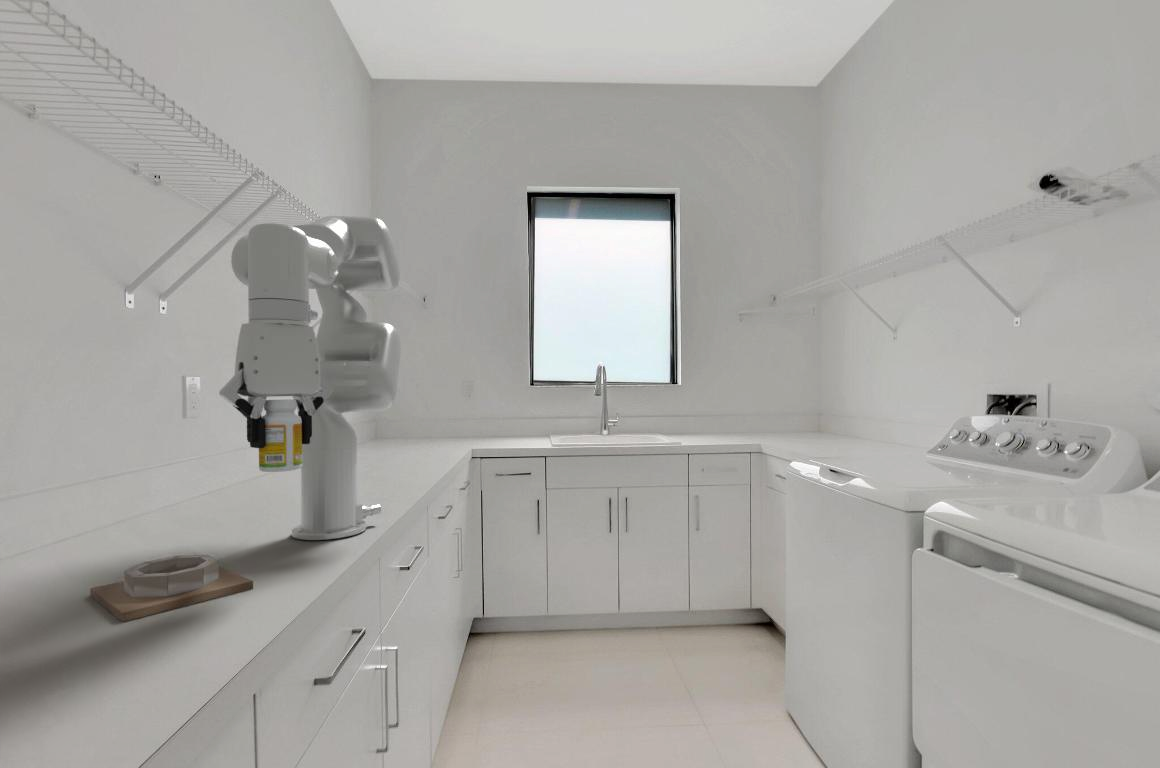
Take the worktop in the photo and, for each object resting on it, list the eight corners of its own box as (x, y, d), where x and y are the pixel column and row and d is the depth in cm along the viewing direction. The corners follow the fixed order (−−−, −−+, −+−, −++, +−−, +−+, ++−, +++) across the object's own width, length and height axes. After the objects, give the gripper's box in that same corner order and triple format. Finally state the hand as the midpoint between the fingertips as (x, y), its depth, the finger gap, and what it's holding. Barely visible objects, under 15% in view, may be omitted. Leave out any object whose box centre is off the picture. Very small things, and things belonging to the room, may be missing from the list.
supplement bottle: (291, 465, 85) (291, 399, 85) (309, 468, 82) (308, 399, 82) (252, 470, 81) (251, 400, 81) (269, 473, 78) (268, 400, 78)
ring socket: (211, 568, 86) (211, 545, 86) (253, 588, 77) (253, 561, 77) (90, 595, 75) (90, 568, 75) (122, 621, 66) (122, 590, 66)
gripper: (324, 322, 91) (325, 439, 91) (199, 312, 77) (201, 449, 77) (350, 318, 86) (352, 441, 86) (222, 307, 73) (224, 453, 73)
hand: (280, 444), depth 82 cm, fingers closed on supplement bottle, 5 cm apart
